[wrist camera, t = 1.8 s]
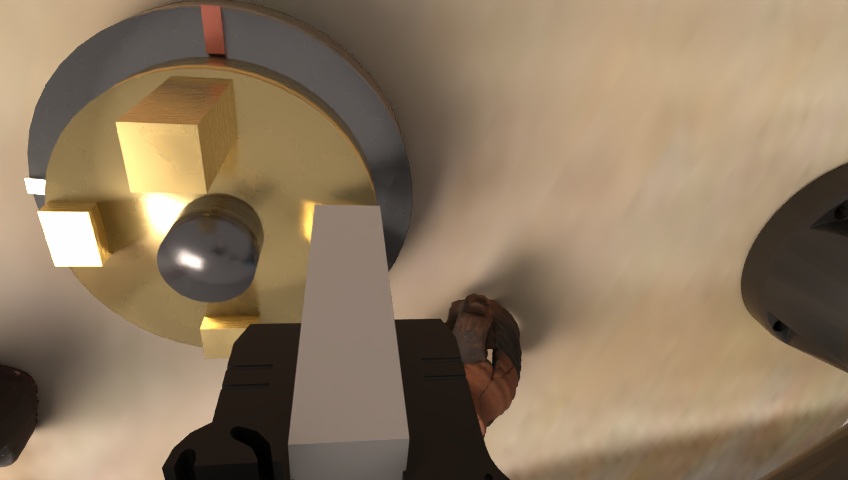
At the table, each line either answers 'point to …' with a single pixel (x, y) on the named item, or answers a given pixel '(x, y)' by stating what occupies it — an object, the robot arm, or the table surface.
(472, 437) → the robot arm
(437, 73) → the table surface
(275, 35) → the base
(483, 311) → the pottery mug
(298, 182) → the gold lug disc
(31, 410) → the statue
